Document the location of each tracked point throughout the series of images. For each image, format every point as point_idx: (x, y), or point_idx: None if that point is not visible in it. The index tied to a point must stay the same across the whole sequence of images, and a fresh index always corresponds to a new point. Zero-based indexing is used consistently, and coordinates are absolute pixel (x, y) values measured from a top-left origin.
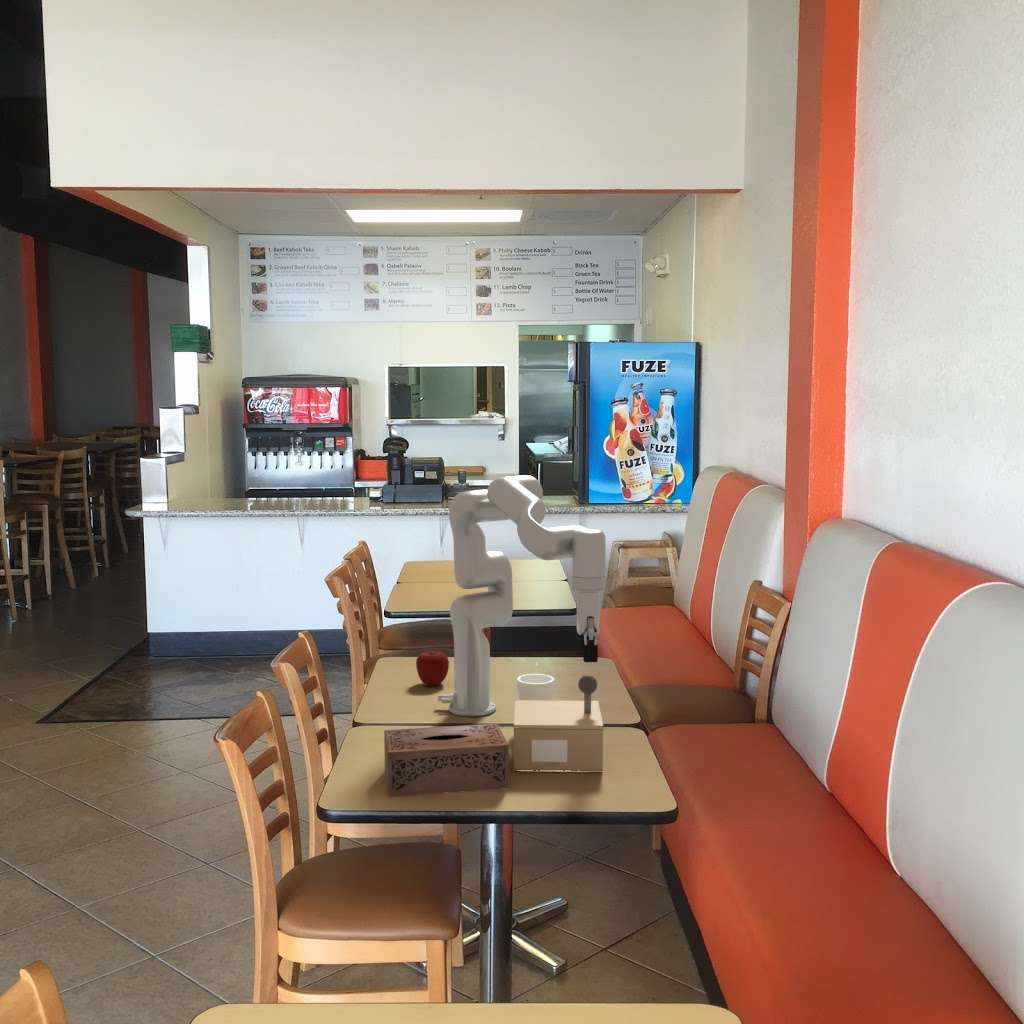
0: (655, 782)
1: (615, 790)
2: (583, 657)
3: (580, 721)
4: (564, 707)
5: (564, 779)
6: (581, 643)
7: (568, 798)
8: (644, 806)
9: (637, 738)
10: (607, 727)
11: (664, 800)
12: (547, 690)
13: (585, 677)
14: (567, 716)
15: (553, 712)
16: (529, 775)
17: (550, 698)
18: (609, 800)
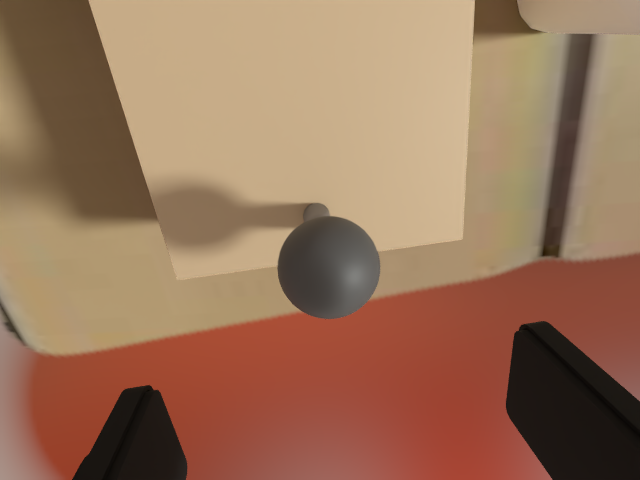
0: (184, 328)
1: (107, 255)
2: (111, 418)
3: (200, 199)
4: (373, 116)
5: None
6: (583, 376)
7: (5, 149)
8: (39, 316)
9: (455, 279)
10: (540, 207)
11: (90, 347)
12: (628, 6)
13: (310, 279)
14: (253, 141)
15: (296, 71)
16: None
17: (612, 27)
18: (40, 247)
